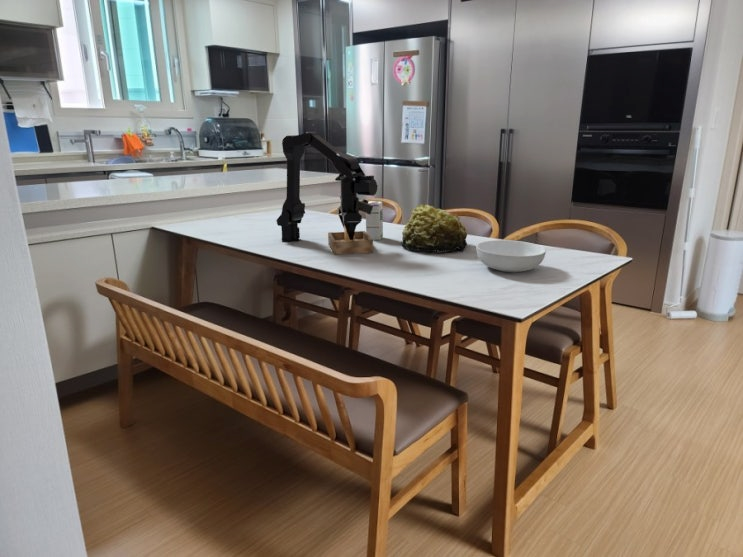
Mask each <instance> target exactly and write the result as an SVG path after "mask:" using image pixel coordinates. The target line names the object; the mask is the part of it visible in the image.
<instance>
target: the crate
mask: <svg viewBox="0 0 743 557" xmlns="http://www.w3.org/2000/svg"><path fill="white" fill-rule="evenodd" d="M354 237H355V241H345V233H344V231H333V232H331V231H330V232H329V231H328V232H327V239H328V246H329V249H330V248H331V249H330V250H332V251H331V253H332V255H333V254H340V255H354V253H360V254H373V253H374V240H372V239H371V238H370V236H369V235H368V234H367V233H366V230H359V231H356V230H355V233H354Z"/></svg>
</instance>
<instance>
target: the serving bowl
mask: <svg viewBox="0 0 743 557" xmlns="http://www.w3.org/2000/svg"><path fill="white" fill-rule="evenodd" d="M475 249H476V250H475V251H476V255H477V256H478V259H479V260H480V262H481V263H483V264H484V265H485V266H486V267H488V268H491V269H495V270H497V271H500V272H505V273H520V272H525V271H530V270H533V269H535V268H537V267H539V266H540V265H541V264H542V262H544V259H545V255H546V253H547V250H546V248H545V247H543V246H541V245H539V244H536V243H531V242H528V241H520V240H511V239H509V240H507V239H505V240H504V239H503V240H502V239H497V240H486V241H481V242H478V243H477V244H476V247H475Z"/></svg>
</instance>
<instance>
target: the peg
mask: <svg viewBox="0 0 743 557" xmlns="http://www.w3.org/2000/svg"><path fill="white" fill-rule="evenodd" d="M343 230H344V231H343V232H344V233H345V241H355V237H353V240H350V239H349V236H348V234H347V231H346V228H345V226H344V227H343Z"/></svg>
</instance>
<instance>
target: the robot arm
mask: <svg viewBox="0 0 743 557" xmlns="http://www.w3.org/2000/svg"><path fill="white" fill-rule="evenodd" d="M281 146H282V153H283V155H284V157H285V159H286V199H285V200H284V202H283V204H282V208H281V214H280V215H279V216H278V217H277V219H275V220H276V224H277V226H279V227H281V242H299V241H300V240H299V239H300V237H301V236H300V234H301V233H300V227H299V226H298V225H299V224H301V223H302V219H303V218H304V216H305V215H306V211H305V208H306V203H304V202H302V200H301V199H300V197H301V195H300V192H301V191H300V187H301V184H300V183H301V160H302V158H303V156H304V154H305V149H306V147H309V146H311V147H312V148H314V149H315V150H316V151H317V152H319V153H320V154H322V155H323V156H324V157H325V158H327V159H328V160H329V161H330V162H331V163H332V165H333V167H334V169H335V170H336V171H337V172H338V173H339V174H338V175H337V176H336V178H335V180H334V181H338V182H339V181H340V196H339V199H340V205H339V207H337V214H338V218H339V219H340V223H341V225H342V228H344V226H345V228H346V231H347V234H348V236H349V239H350V240H353V237H354V233H355V231H356V229H357V226H358V225H359V224H361V222H362V220H363V216H362V214H361V213H360V212H363V213H365V214H366V213H367V214H371V211H372V209H373V206H372V205H371V204H368V202H369V201H368V200H367V199H365V198H363V199H362V200H359V199H360V198H359V197H358V196H360V195H361V196H373V197H374V196H375V195H376V194H377V193H378V183H377V181H376V179H375V175H366V174H365V172H364V170H363V169H362V167H361V166H360V161H359V160H358V159H357V158H356V157H354V156H352V155H350V154H348V153H345V152H342V151H340V150H339V149H338V148H336V146H334V145H332V144H331V143H329V142H328V141H327V140H325V139H324V138H323V137H322V136H320V135H319V133H318V132H316V131H306V132H305V133H302V134H297V135H296V134H295V135H292V134H291V135H286V136H284V137H283V138H282V141H281Z"/></svg>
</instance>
